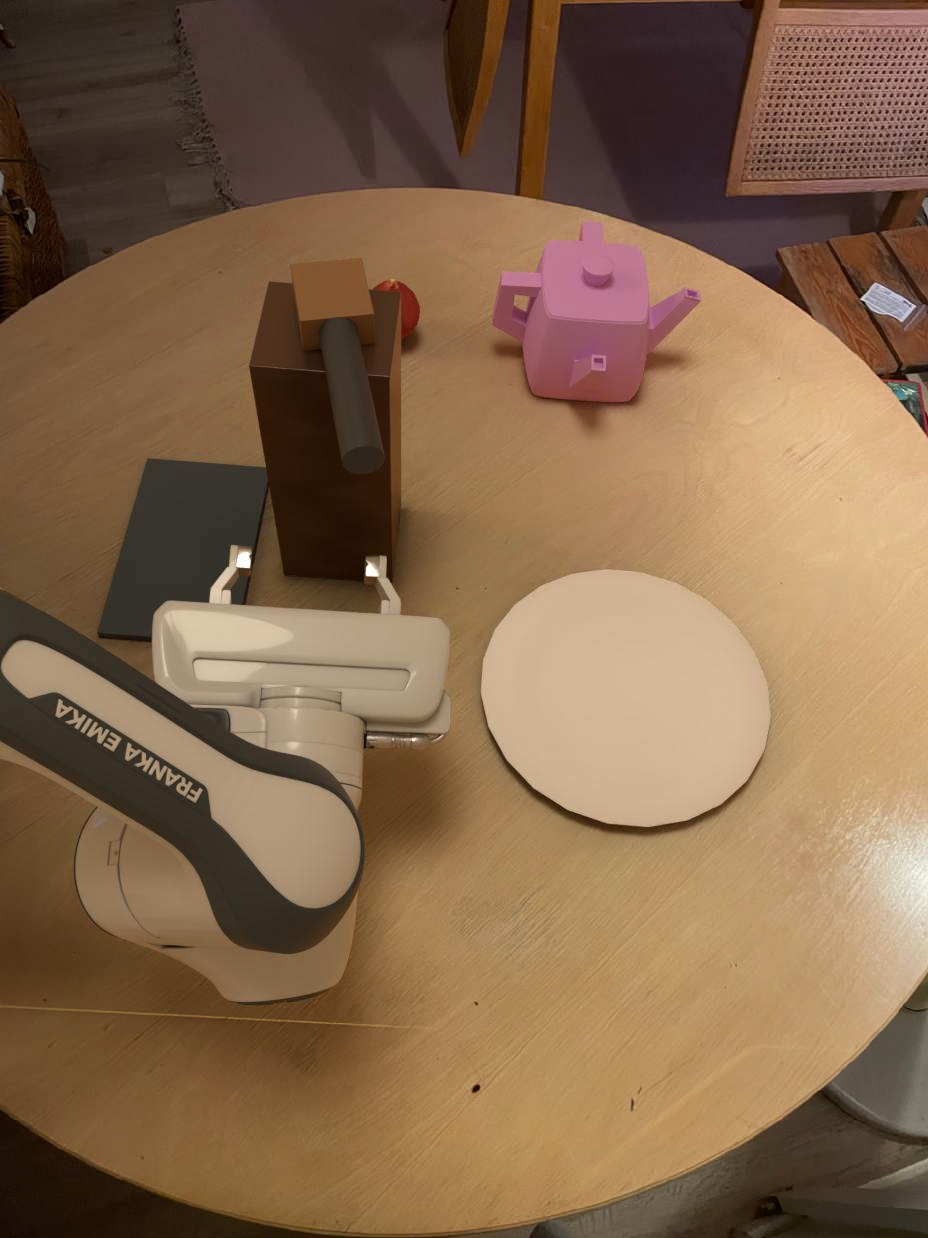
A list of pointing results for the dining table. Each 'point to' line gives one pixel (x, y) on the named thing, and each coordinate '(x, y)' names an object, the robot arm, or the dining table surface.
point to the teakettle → (587, 318)
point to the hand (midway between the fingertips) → (309, 552)
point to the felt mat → (182, 540)
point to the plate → (625, 698)
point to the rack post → (326, 444)
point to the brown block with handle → (342, 351)
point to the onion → (404, 305)
